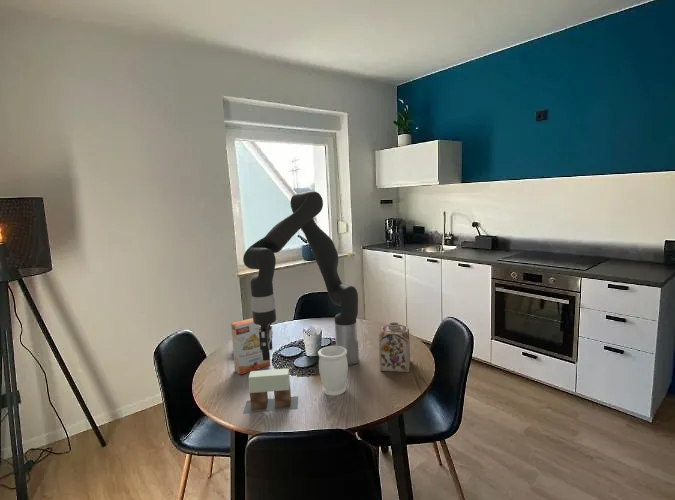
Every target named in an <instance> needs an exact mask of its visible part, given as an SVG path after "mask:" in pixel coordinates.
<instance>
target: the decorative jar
mask: <svg viewBox="0 0 675 500" xmlns="http://www.w3.org/2000/svg"><path fill="white" fill-rule="evenodd" d="M378 341H379V344H378V346H379V348H378V350H379V352H378V353H379V371H381V372H394V373H395V372H398V373H409V372H410V367H411V366H410V363H411V351H410V349H411V347H410V343H411V342H410V329H409V327H407V326H406V325H403V324H400V322H398V321H391V322H389V323H388V324H386V325H385V324H384V326H381V327H380V330H379V337H378Z"/></svg>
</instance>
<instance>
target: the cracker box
mask: <svg viewBox="0 0 675 500" xmlns="http://www.w3.org/2000/svg"><path fill="white" fill-rule="evenodd" d="M230 329H231V338H232V339H231V340H232V341H231V342H232V353H233V365H234V366H233V368H234V371H235V372H236V373H237V374H238V375H239V376H240V375H243V374H247V373H250V372H251V371H257V370H260V369H262V368H265V367H269V366H271V359H270V360H267V361H264V360H263V355H262V350H260V339H259V329H260V325H257V324H255V323H254V322H253V317H251V318H246V319H243V320H238V321H234V322H231V323H230ZM263 346H266V344H265V343H263Z"/></svg>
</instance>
